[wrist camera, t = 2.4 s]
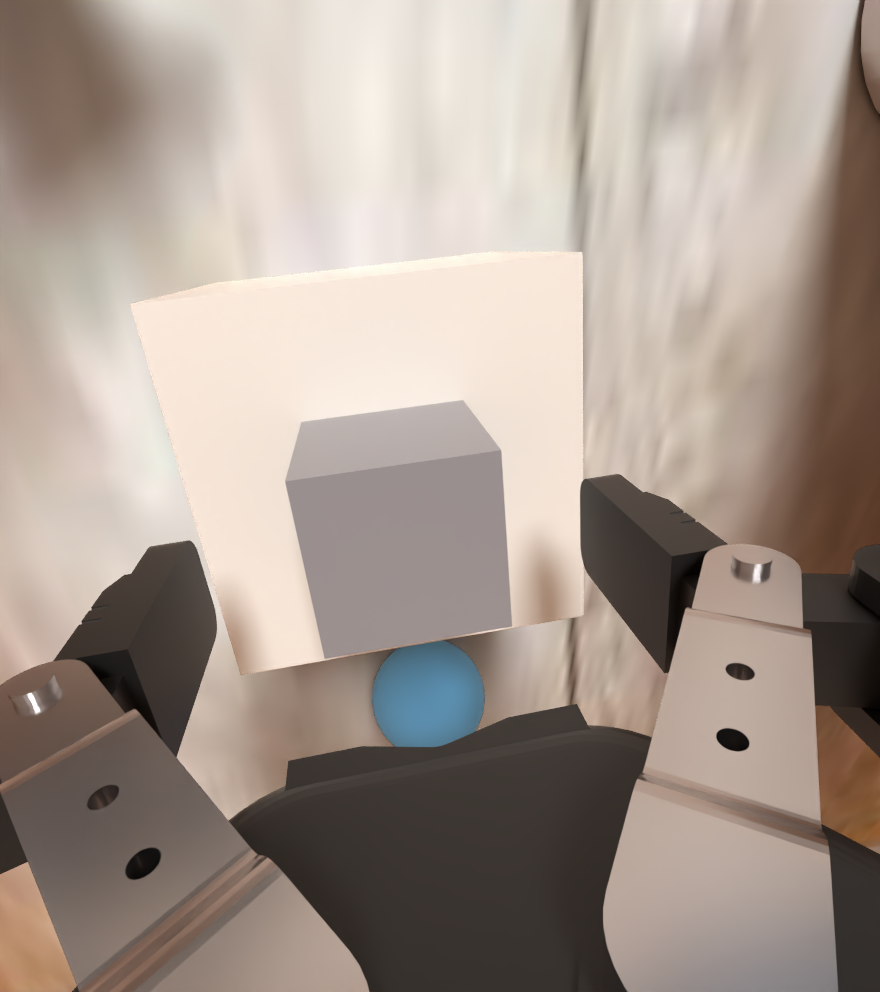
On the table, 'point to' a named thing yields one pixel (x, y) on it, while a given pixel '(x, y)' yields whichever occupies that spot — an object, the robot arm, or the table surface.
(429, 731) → the ball
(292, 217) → the table surface
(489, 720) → the table surface
